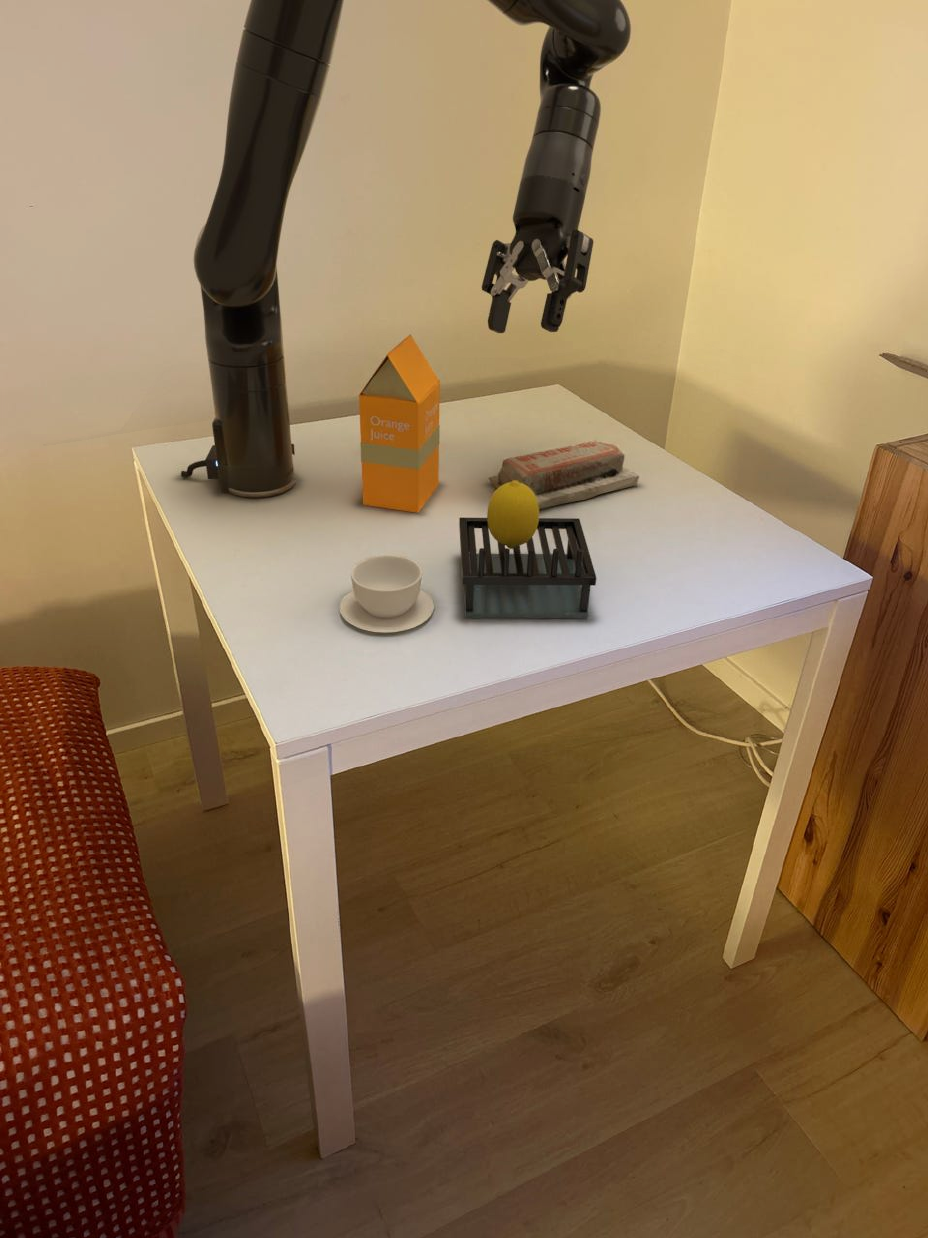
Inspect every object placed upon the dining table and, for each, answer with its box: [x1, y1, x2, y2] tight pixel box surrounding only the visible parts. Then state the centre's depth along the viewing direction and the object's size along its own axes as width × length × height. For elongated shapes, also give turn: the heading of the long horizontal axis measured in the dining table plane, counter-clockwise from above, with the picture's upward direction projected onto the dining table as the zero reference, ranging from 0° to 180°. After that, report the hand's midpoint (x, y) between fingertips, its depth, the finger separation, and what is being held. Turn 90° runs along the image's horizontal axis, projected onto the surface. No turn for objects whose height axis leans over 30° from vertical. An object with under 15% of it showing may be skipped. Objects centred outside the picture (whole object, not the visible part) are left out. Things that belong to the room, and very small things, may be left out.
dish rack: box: [458, 517, 597, 619], centre depth 101 cm, size 14×13×8 cm
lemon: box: [486, 480, 540, 550], centre depth 99 cm, size 6×6×8 cm
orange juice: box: [358, 333, 441, 514], centre depth 117 cm, size 8×9×20 cm
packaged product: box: [488, 440, 640, 510], centre depth 124 cm, size 18×5×10 cm
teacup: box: [339, 554, 435, 633], centre depth 98 cm, size 10×10×5 cm
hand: (521, 330), depth 106 cm, fingers open, 8 cm apart
